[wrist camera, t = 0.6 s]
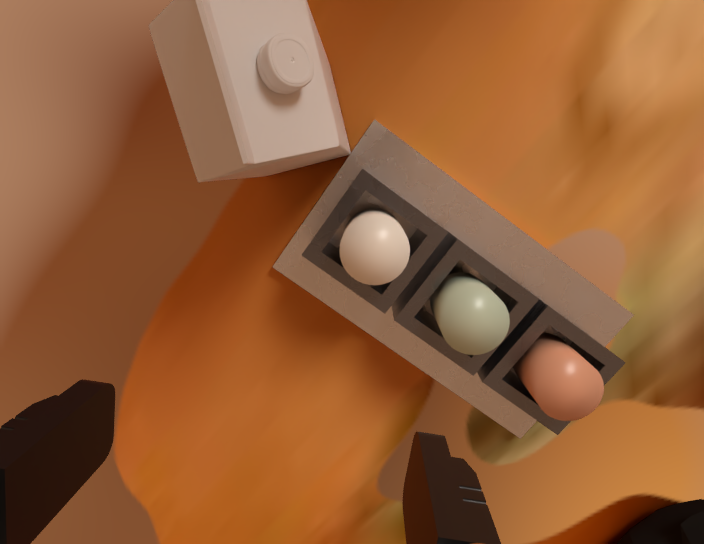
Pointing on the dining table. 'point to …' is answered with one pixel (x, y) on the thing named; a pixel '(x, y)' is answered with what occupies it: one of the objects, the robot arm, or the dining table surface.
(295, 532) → the dining table surface
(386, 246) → the cream white egg
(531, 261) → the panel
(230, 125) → the milk carton
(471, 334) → the pale green egg
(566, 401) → the brown egg
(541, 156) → the dining table surface
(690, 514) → the black rounded dome
